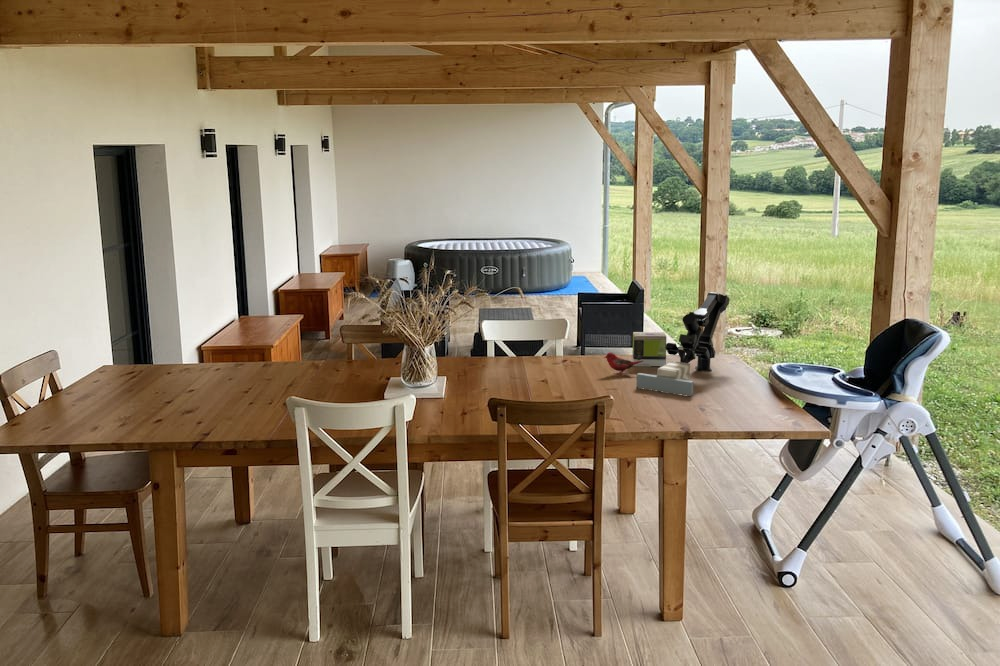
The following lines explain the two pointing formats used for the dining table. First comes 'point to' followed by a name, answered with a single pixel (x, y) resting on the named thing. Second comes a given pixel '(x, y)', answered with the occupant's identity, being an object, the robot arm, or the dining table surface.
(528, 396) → the dining table surface
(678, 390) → the board
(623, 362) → the decorative bird figurine
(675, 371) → the block
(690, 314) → the robot arm
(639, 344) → the tea box
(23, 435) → the dining table surface
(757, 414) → the dining table surface
